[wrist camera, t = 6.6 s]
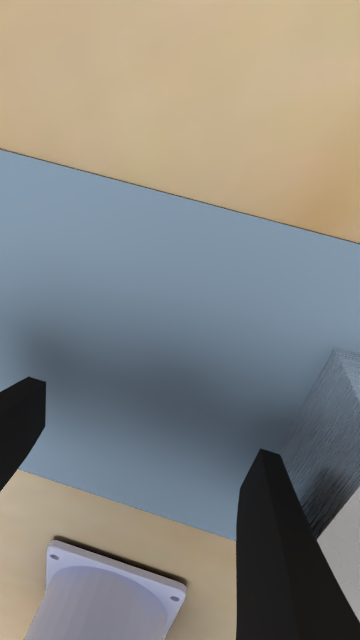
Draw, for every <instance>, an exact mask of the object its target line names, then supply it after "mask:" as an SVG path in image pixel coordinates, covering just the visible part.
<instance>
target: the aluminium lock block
mask: <svg viewBox="0 0 360 640" xmlns="http://www.w3.org/2000/svg"><path fill="white" fill-rule="evenodd" d="M276 453H277V454H280V456H281V457H282V460H283V462H284V465H285V467H286V470H287V472H288V475H289V477H290V480H291V482H292V485H293V487H294V490H295V492H296V494H297V497H298V499H299V502H300V504H301V506H302V509H303V511H304V513H305V515H306V518H307V520H308V522H309V524H310V526H311V529H312V531H313V533H314V535H315V537H316V540H317V542H318V544H319V546H320V548H321V550H322V552H323V554H324V556H325V558H326V560H327V562H328V564H329V566H330V568H331V570H332V572H333V574H334V576H335V578H336V580H337V582H338V584H339V585H340V587H341V589H342V591H343V593H344V595H345V597H346V599H347V600H348V602H349V604H350V606H351V608H352V609H353V611H354V613H355V615H356V616H357V618H358V620H359V622H360V354H358V353H354V352H351V351H347V350H344V349H340V348H337V347H334V349H333V350H332V352H331V354H330V356H329V358H328V360H327V361H326V363H325V365H324V367H323V369H322V370H321V372H320V374H319V376H318V378H317V380H316V381H315V383H314V385H313V387H312V389H311V390H310V392H309V394H308V396H307V398H306V400H305V401H304V403H303V405H302V407H301V409H300V410H299V412H298V414H297V416H296V418H295V420H294V421H293V423H292V425H291V427H290V429H289V430H288V432H287V434H286V436H285V438H284V440H283V441H282V443H281V445H280V447H279V449H278V450H277V452H276Z"/></svg>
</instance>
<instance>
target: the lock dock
mask: <svg viewBox="0 0 360 640" xmlns="http://www.w3.org/2000/svg"><path fill="white" fill-rule="evenodd" d="M334 347H337V348H340V349H344V350H347V351H351V352H354V353H358V354H360V244H358V243H354V242H351V241H347V240H343V239H339V238H335V237H332V236H328V235H324V234H320V233H316V232H313V231H309V230H305V229H301V228H297V227H294V226H290V225H286V224H282V223H278V222H275V221H271V220H267V219H263V218H260V217H256V216H252V215H248V214H244V213H241V212H237V211H233V210H229V209H225V208H222V207H218V206H214V205H210V204H206V203H203V202H199V201H195V200H191V199H187V198H184V197H180V196H176V195H172V194H169V193H165V192H161V191H157V190H153V189H150V188H146V187H142V186H138V185H134V184H131V183H127V182H123V181H119V180H115V179H112V178H108V177H104V176H100V175H96V174H93V173H89V172H85V171H81V170H77V169H74V168H70V167H66V166H62V165H59V164H55V163H51V162H47V161H43V160H40V159H36V158H32V157H28V156H24V155H21V154H17V153H13V152H9V151H5V150H2V149H0V392H1V391H3V390H4V389H6V388H8V387H10V386H12V385H14V384H15V383H17V382H19V381H21V380H23V379H25V378H27V377H28V376H29V377H32V378H35V379H39V380H42V381H45V382H46V421H45V428H44V430H43V431H42V433H41V435H40V436H39V438H38V440H37V441H36V443H35V445H34V446H33V448H32V450H31V451H30V453H29V454H28V456H27V457H26V459H25V460H24V461H23V463H22V464H21V465H20V467H19V468H18V469H19V470H22V471H25V472H28V473H31V474H34V475H37V476H40V477H43V478H46V479H49V480H52V481H56V482H59V483H62V484H65V485H68V486H71V487H74V488H77V489H80V490H83V491H86V492H89V493H92V494H95V495H98V496H101V497H104V498H107V499H110V500H113V501H116V502H119V503H122V504H125V505H128V506H131V507H134V508H137V509H140V510H143V511H146V512H149V513H152V514H155V515H158V516H161V517H164V518H167V519H170V520H173V521H177V522H180V523H183V524H186V525H189V526H192V527H195V528H198V529H201V530H204V531H207V532H210V533H213V534H216V535H219V536H222V537H225V538H228V539H231V540H234V541H236V522H237V510H238V501H239V491H240V487H241V485H242V483H243V481H244V479H245V477H246V475H247V473H248V471H249V469H250V467H251V465H252V463H253V461H254V460H255V458H256V456H257V454H258V452H259V450H260V448H261V449H264V450H268V451H271V452H274V453H276V452H277V450H278V449H279V447H280V445H281V443H282V441H283V440H284V438H285V436H286V434H287V432H288V430H289V429H290V427H291V425H292V423H293V421H294V420H295V418H296V416H297V414H298V412H299V410H300V409H301V407H302V405H303V403H304V401H305V400H306V398H307V396H308V394H309V392H310V390H311V389H312V387H313V385H314V383H315V381H316V380H317V378H318V376H319V374H320V372H321V370H322V369H323V367H324V365H325V363H326V361H327V360H328V358H329V356H330V354H331V352H332V350H333V349H334Z"/></svg>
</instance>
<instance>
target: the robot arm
mask: <svg viewBox="0 0 360 640" xmlns="http://www.w3.org/2000/svg"><path fill="white" fill-rule="evenodd" d="M45 421H46V382H45V381H42V380H39V379H35V378H32V377H29V376H28V377H27V378H25V379H23V380H21V381H19V382H17V383H15V384H14V385H12V386H10V387H8V388H6V389H4V390H3V391H1V392H0V491H1V490H2V489H3V487H4V486H5V485H6V484H7V482H8V481H9V480H10V478H11V477H12V476H13V474H14V473H15V472H16V470H17V469H18V468H19V467H20V465H21V464H22V463H23V461H24V460H25V459H26V457H27V456H28V454H29V453H30V451H31V450H32V448H33V446H34V445H35V443H36V441H37V440H38V438H39V436H40V435H41V433H42V431H43V430H44V428H45ZM236 568H237V629H236V640H360V622H359V620H358V618H357V616H356V615H355V613H354V611H353V609H352V608H351V606H350V604H349V602H348V600H347V599H346V597H345V595H344V593H343V591H342V589H341V587H340V585H339V584H338V582H337V580H336V578H335V576H334V574H333V572H332V570H331V568H330V566H329V564H328V562H327V560H326V558H325V556H324V554H323V552H322V550H321V548H320V546H319V544H318V542H317V540H316V537H315V535H314V533H313V531H312V529H311V526H310V524H309V522H308V520H307V518H306V515H305V513H304V511H303V509H302V506H301V504H300V502H299V499H298V497H297V494H296V492H295V490H294V487H293V485H292V482H291V480H290V477H289V475H288V472H287V470H286V467H285V465H284V462H283V460H282V457H281V456H280V454H277V453H274V452H271V451H268V450H264V449H261V448H260V450H259V452H258V454H257V456H256V458H255V460H254V461H253V463H252V465H251V467H250V469H249V471H248V473H247V475H246V477H245V479H244V481H243V483H242V485H241V487H240V491H239V501H238V510H237V522H236ZM186 593H187V588H186V586H185V585H184V584H183V583H180V582H178V581H175V580H172V579H169V578H166V577H163V576H160V575H157V574H154V573H151V572H148V571H146V570H143V569H140V568H137V567H134V566H131V565H128V564H125V563H122V562H119V561H116V560H113V559H110V558H108V557H105V556H102V555H99V554H96V553H93V552H90V551H87V550H84V549H81V548H78V547H75V546H73V545H70V544H67V543H64V542H61V541H58V540H53V541H50V543H49V545H48V547H47V559H46V593H45V595H44V597H43V599H42V601H41V603H40V605H39V608H38V610H37V612H36V614H35V616H34V618H33V621H32V623H31V625H30V627H29V629H28V631H27V633H26V636H25V638H24V640H164V639H165V637H166V635H167V633H168V631H169V629H170V627H171V625H172V623H173V621H174V619H175V617H176V615H177V613H178V611H179V609H180V607H181V605H182V604H183V602H184V600H185V598H186Z"/></svg>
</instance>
